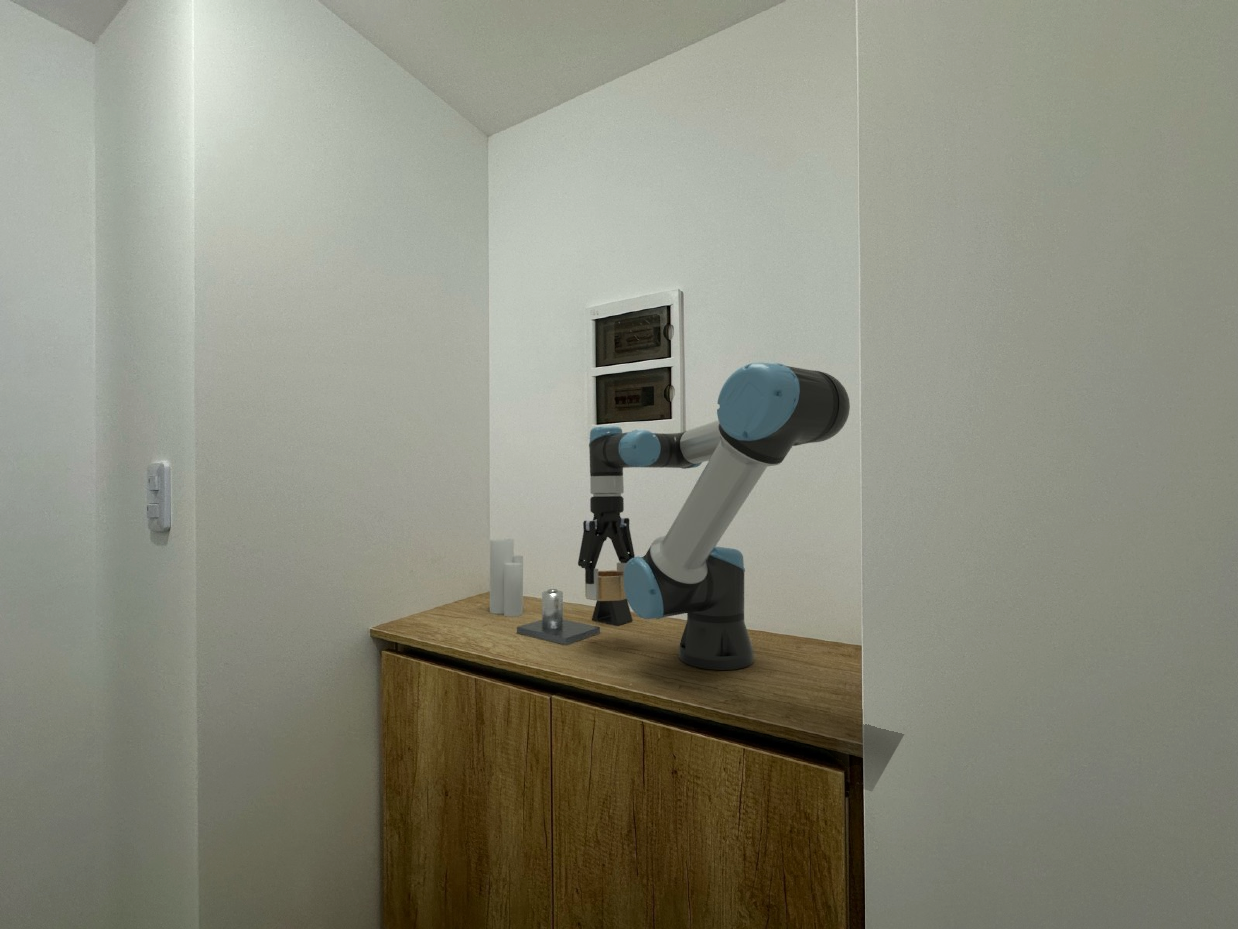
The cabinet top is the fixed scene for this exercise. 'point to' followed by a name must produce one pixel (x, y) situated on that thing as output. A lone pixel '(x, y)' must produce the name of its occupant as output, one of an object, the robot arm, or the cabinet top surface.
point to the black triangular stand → (612, 612)
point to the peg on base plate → (556, 622)
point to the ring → (609, 586)
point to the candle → (505, 579)
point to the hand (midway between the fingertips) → (608, 594)
